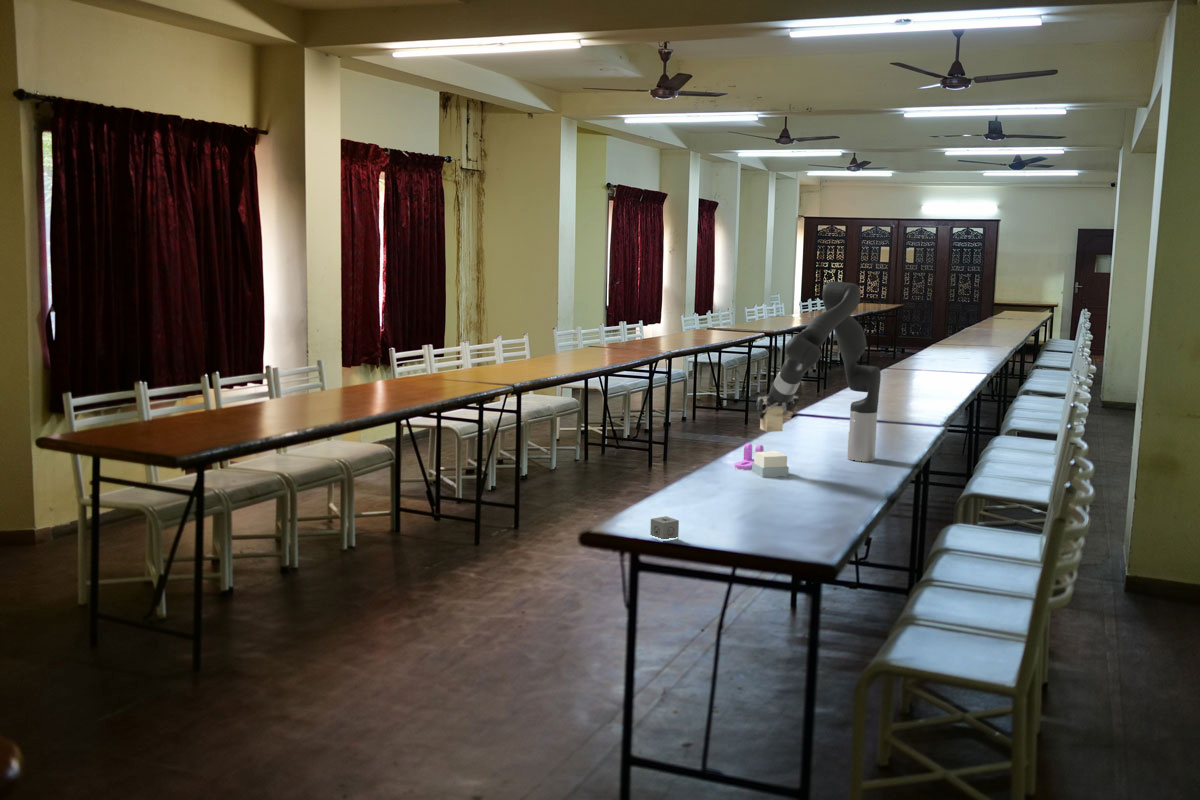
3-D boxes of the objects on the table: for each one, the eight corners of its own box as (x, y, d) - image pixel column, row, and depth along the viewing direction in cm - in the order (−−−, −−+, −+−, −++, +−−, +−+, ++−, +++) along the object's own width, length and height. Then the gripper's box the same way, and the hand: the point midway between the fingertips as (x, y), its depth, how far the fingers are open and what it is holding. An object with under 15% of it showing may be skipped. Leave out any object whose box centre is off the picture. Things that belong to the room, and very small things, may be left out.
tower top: (754, 462, 346) (754, 452, 346) (776, 461, 348) (777, 451, 348) (763, 467, 339) (764, 456, 338) (786, 466, 341) (787, 456, 340)
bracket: (748, 462, 362) (748, 442, 362) (762, 464, 360) (763, 444, 359) (731, 468, 352) (732, 448, 351) (746, 470, 349) (747, 450, 348)
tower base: (751, 472, 347) (752, 462, 347) (777, 471, 349) (777, 461, 349) (762, 478, 338) (762, 467, 338) (788, 477, 341) (788, 466, 340)
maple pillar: (760, 428, 344) (761, 398, 342) (775, 428, 345) (776, 398, 343) (766, 431, 338) (767, 401, 337) (782, 431, 340) (783, 400, 338)
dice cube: (662, 542, 261) (663, 523, 260) (650, 538, 265) (650, 518, 264) (678, 539, 264) (678, 520, 263) (665, 535, 268) (666, 516, 267)
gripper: (803, 375, 333) (786, 406, 347) (761, 375, 330) (746, 407, 343) (810, 393, 329) (792, 425, 342) (767, 394, 326) (751, 426, 339)
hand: (769, 416), depth 343 cm, fingers closed on maple pillar, 5 cm apart
